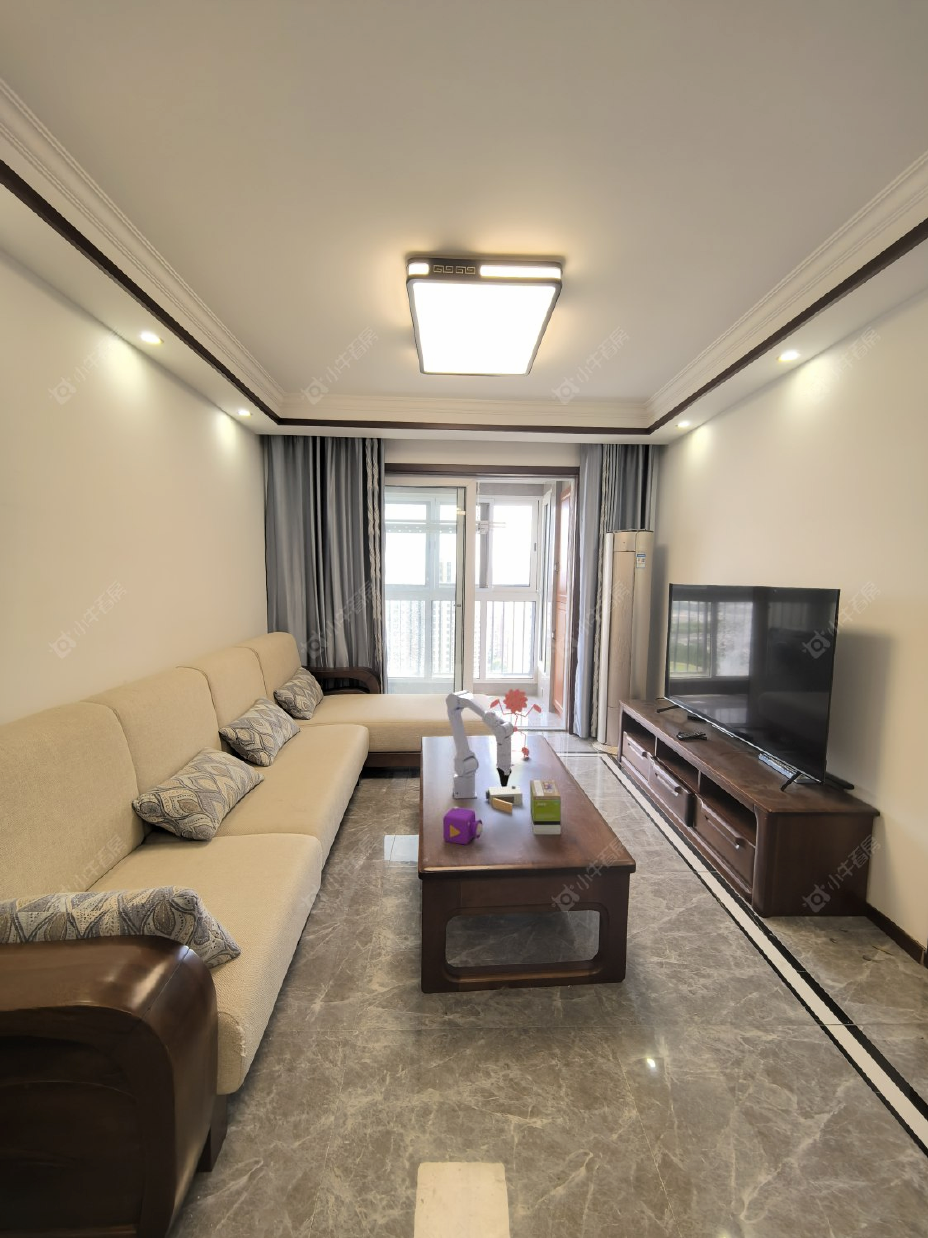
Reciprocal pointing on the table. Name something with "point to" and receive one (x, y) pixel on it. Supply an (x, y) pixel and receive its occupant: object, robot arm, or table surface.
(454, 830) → the toy camera
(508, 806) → the side door
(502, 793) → the white knobbed box
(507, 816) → the table surface
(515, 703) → the figurine
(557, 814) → the tea box
